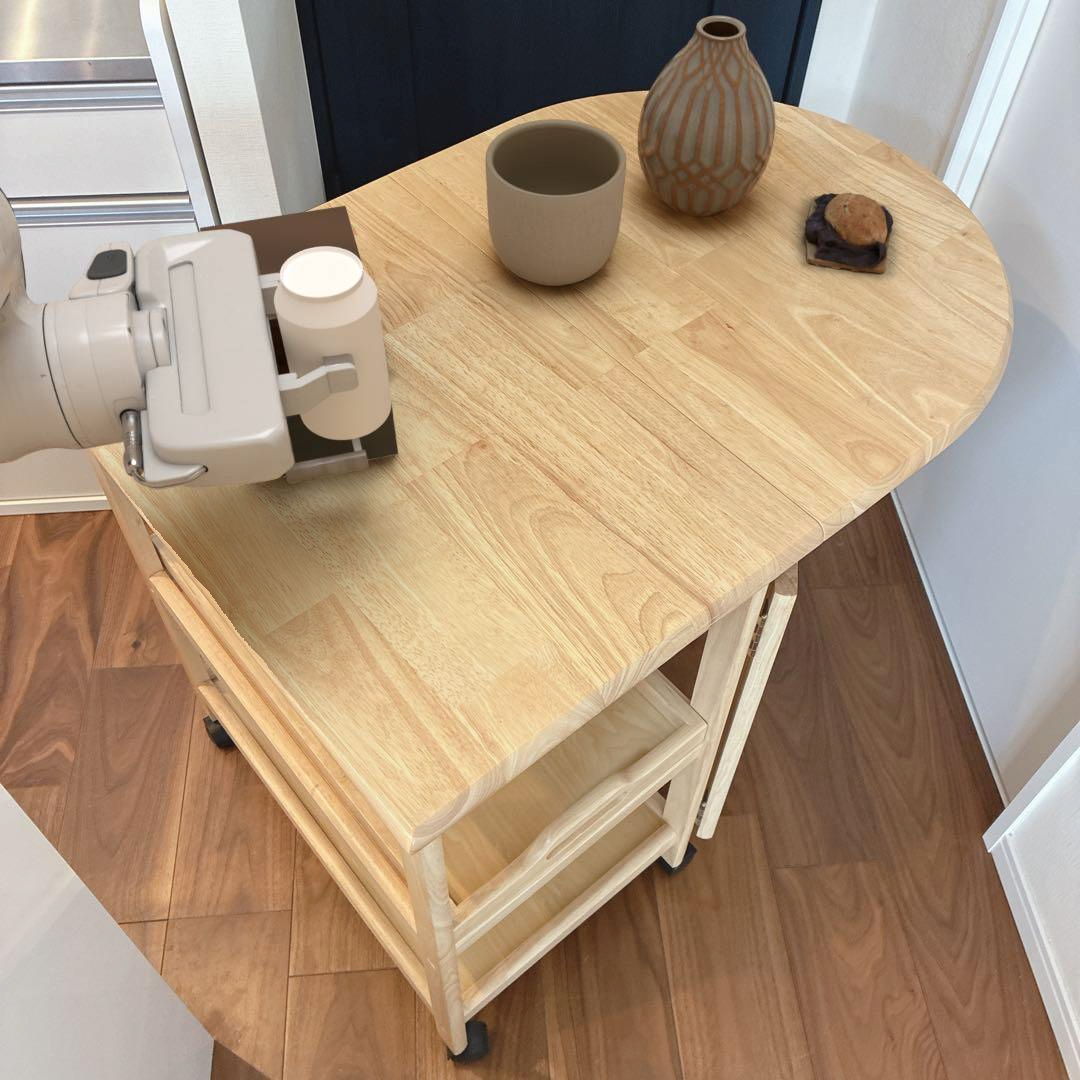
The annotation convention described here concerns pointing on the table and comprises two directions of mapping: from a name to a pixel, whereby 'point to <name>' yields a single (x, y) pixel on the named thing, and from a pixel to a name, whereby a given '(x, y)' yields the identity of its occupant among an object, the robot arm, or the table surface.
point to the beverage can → (335, 336)
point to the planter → (554, 199)
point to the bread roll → (848, 232)
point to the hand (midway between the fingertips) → (346, 330)
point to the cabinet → (294, 237)
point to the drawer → (330, 440)
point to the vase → (707, 122)
